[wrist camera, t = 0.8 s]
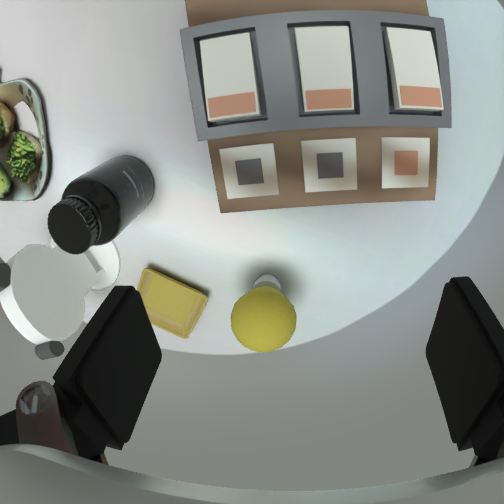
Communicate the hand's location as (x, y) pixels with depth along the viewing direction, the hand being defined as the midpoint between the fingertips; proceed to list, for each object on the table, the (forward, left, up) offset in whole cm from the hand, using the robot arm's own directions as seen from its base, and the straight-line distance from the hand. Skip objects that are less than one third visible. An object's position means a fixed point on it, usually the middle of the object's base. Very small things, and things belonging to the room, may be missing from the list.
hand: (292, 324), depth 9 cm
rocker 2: (-8, +3, -19) cm, 21 cm away
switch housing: (-8, +3, -22) cm, 24 cm away
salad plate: (-8, -36, -25) cm, 45 cm away
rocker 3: (-8, +11, -19) cm, 24 cm away
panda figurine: (+9, -28, -25) cm, 38 cm away
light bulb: (+15, -4, -25) cm, 29 cm away
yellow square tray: (+17, -17, -25) cm, 35 cm away
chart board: (-6, +3, -24) cm, 25 cm away
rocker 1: (-8, -4, -19) cm, 21 cm away
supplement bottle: (+1, -18, -25) cm, 31 cm away
